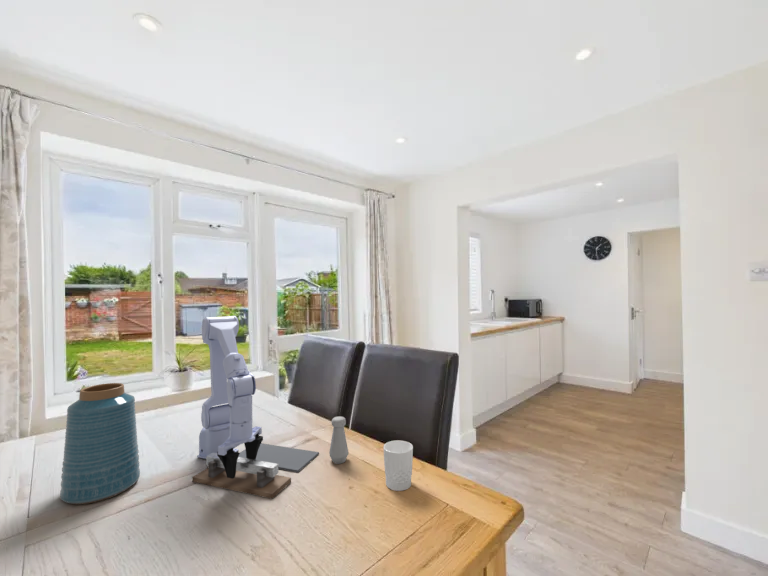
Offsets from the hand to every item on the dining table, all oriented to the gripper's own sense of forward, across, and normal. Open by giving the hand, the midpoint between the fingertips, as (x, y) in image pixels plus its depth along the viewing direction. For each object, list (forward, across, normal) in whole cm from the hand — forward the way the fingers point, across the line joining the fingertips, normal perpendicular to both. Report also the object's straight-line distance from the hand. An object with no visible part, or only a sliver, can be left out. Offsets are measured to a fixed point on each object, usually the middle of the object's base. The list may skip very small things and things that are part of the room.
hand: (241, 470), depth 95 cm
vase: (+3, -14, +33) cm, 36 cm away
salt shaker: (+3, +19, -20) cm, 28 cm away
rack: (+3, 0, 0) cm, 3 cm away
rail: (0, 0, 0) cm, 0 cm away
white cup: (+3, +12, -41) cm, 43 cm away
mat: (+3, +15, 0) cm, 15 cm away
